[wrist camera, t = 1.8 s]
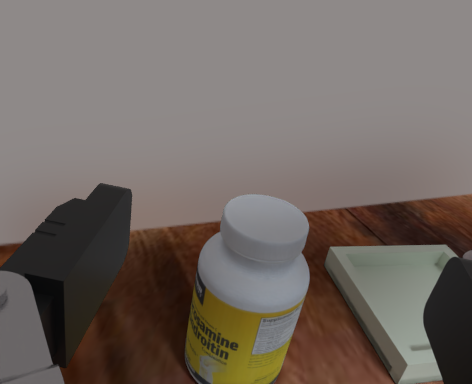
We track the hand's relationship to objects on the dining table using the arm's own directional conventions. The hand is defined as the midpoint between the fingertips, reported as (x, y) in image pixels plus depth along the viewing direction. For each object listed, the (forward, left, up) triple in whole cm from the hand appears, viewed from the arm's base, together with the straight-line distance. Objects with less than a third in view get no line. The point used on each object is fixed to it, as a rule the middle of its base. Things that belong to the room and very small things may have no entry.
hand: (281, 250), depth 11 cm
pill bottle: (-4, -10, -18) cm, 21 cm away
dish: (-21, -13, -17) cm, 30 cm away
